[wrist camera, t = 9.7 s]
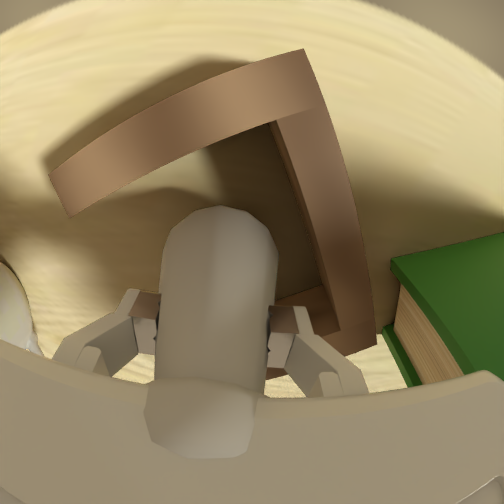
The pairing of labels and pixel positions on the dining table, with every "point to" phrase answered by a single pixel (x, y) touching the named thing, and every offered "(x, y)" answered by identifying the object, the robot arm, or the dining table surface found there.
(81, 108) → the dining table surface
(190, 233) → the salt shaker
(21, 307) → the teacup
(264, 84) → the walnut holder
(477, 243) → the hardback book
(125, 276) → the dining table surface
